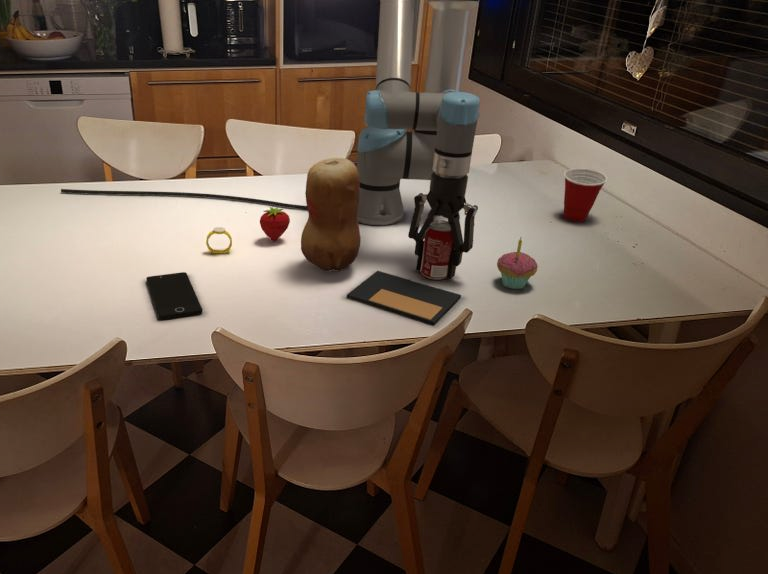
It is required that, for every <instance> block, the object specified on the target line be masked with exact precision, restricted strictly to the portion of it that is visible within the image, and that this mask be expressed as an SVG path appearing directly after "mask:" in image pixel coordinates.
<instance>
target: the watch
mask: <svg viewBox="0 0 768 574" xmlns="http://www.w3.org/2000/svg"><path fill="white" fill-rule="evenodd" d="M214 234H215V235H226V236H227V237H228V239H229V244H228V246H227V247H226V248H225V249H214V248H212V247H211V246H210V244H209V239H210V238H211V237H212V235H214ZM232 239H233V237H232V236H231V234H230V233H229V232H228V231H227V230H226V229H225V227H222V226H216V227H214V228H213V230H211V231H209V233H208V234H207V235H206V242H205V243H206V244H205V245H206V247H207V249H208V251H209V252H211V253H212V254H226V253H228V252H229V251H230V250H231V248H232V246H233V240H232Z"/></svg>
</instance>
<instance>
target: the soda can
mask: <svg viewBox="0 0 768 574" xmlns="http://www.w3.org/2000/svg"><path fill="white" fill-rule="evenodd" d="M423 241H424V246H423V253H422V261H421V268H420V271H419V272H420V274H421V275H422V276H424V277H425V278H426V279H429V280H432V281H440V280H445V279H447V275H448V268H449V262H450V256H451V252H452V251H453V250H454V244H453V238H452V233H451V228H450V224H449V223H448V220H443V219H442V220H440V219H437V220H434V221H433V222H432V223H431V224H429V227H428V229H427V230H426V232H425V239H424V240H423Z"/></svg>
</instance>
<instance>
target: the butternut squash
mask: <svg viewBox="0 0 768 574" xmlns="http://www.w3.org/2000/svg"><path fill="white" fill-rule="evenodd" d="M359 180H360V176H359V173H358V170H357V165H356V164H355V163H354V162H353V161H352V160H350V159H348V158H343V157H329V158H326V159H322V160H320V161H318V162H316V163H314V164H313V165H312V166H311V167H310V168H309V169H308V172H307V174H306V183H305V193H304V194H305V203H306V206H307V209H308V210H307V213H308V218H307V220H306V222H305V225H304V227H303V229H302V232H301V236H300V237H301V238H300V250H301V252H302V255H303V257H304V258H305V260H306V261H308V262H309V263H311V264H312V265H314V266H315V267H317V268H318V269H320V270H322V271H323V272H330V271H336V272H341V271H345V270H346V269H349V267H350V266H351V265H352V264H353V262H355V260H356V259H357V258H358V255H359V252H360V248H361V243H362V237H361V232H360V231H361V230H360V223H359V222H358V217H357V216H358V206H359V200H360V186H359Z"/></svg>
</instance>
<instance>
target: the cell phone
mask: <svg viewBox="0 0 768 574" xmlns="http://www.w3.org/2000/svg"><path fill="white" fill-rule="evenodd" d="M146 283H147V287H148V290H149V292H150V294H151V299H152V301H153V305H154V307H155V310H156V314H157V318H158V319H159V320H167V319H175V318H181V317H189V316H196V315H201V314H203V308H202V305H201V302H200V301H199V299H198V296H197V294H196V291H195V290H194V287H193V284H192V283H191V280H190V278H189V275H188V273H187V272H185V271H183V272H172V273H166V274H157V275H151V276H146Z"/></svg>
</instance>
